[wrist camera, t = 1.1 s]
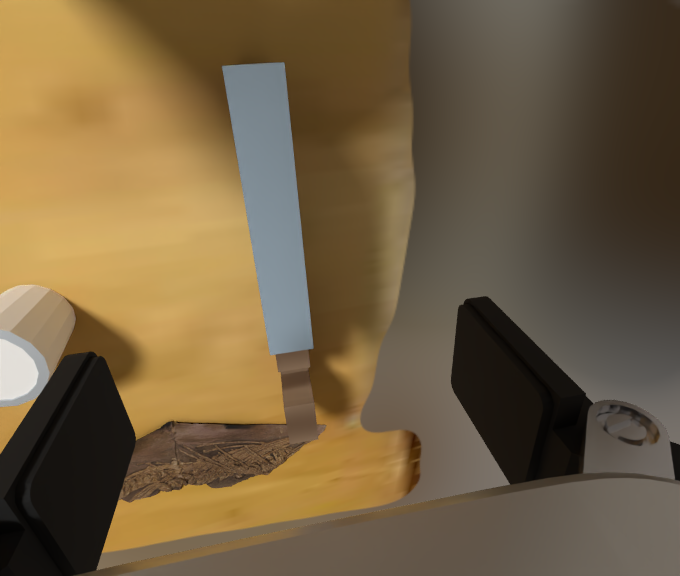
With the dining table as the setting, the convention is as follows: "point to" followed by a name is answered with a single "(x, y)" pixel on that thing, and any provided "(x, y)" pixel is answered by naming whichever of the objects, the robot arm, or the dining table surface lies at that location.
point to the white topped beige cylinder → (31, 340)
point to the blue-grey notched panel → (271, 199)
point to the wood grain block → (297, 396)
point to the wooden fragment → (204, 456)
